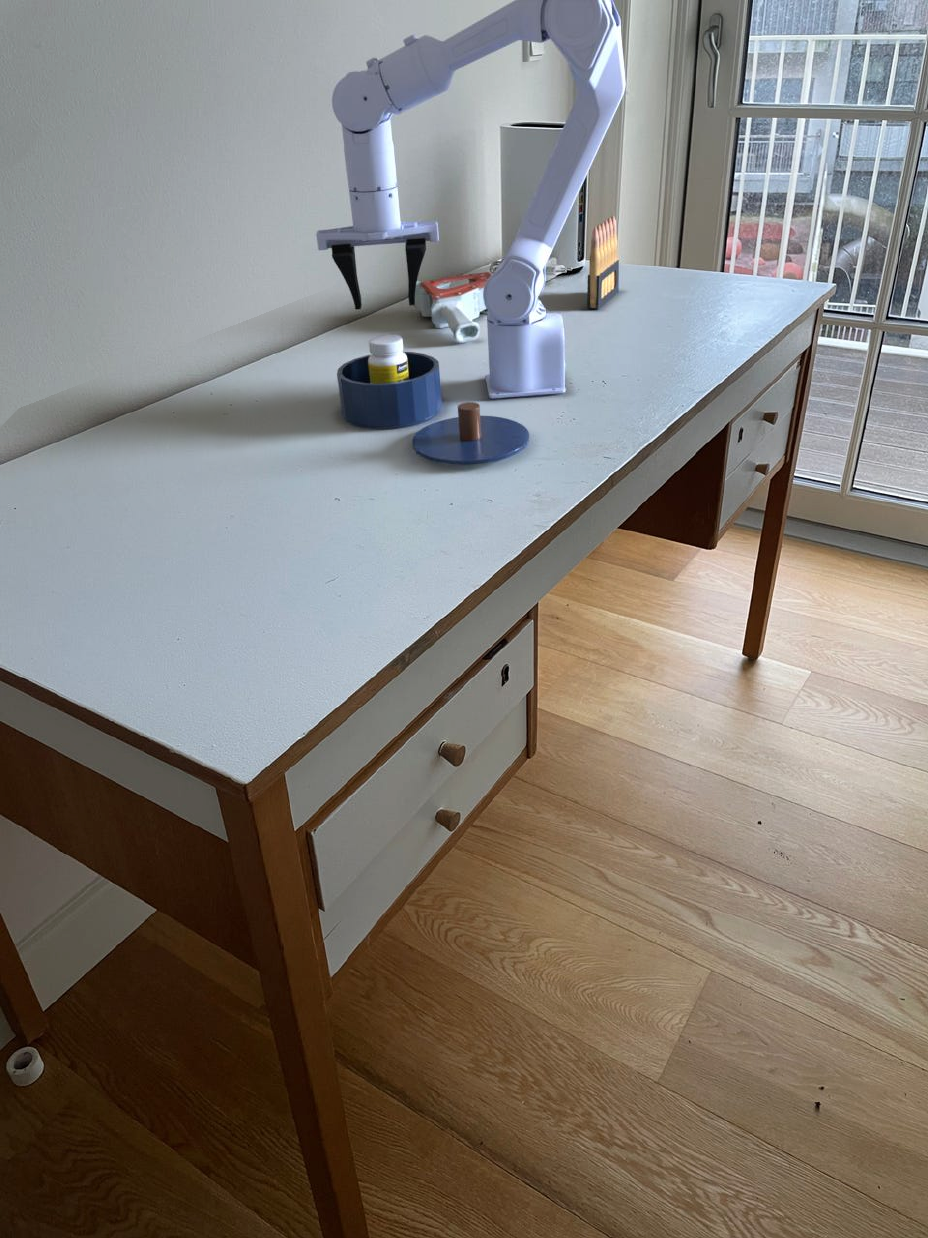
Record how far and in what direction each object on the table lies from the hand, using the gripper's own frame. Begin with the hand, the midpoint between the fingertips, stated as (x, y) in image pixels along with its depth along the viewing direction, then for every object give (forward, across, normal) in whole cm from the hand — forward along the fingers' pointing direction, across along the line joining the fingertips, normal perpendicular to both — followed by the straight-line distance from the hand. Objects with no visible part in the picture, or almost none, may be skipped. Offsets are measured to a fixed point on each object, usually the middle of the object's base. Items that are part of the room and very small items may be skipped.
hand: (385, 305), depth 122 cm
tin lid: (+10, +9, -22) cm, 26 cm away
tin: (+10, 0, -9) cm, 14 cm away
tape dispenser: (+11, +9, +27) cm, 30 cm away
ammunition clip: (+11, +33, +33) cm, 48 cm away
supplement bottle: (+10, 0, -9) cm, 14 cm away
